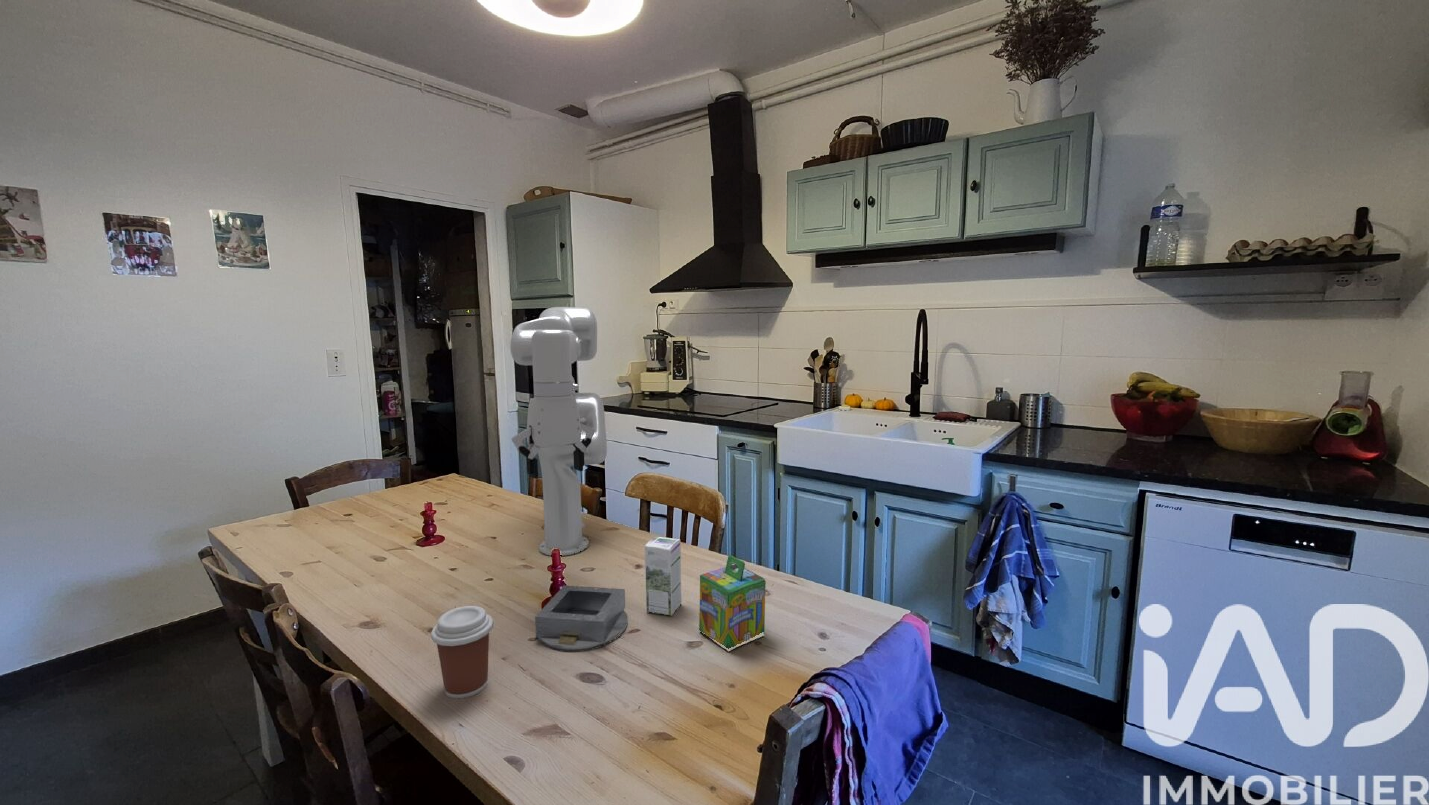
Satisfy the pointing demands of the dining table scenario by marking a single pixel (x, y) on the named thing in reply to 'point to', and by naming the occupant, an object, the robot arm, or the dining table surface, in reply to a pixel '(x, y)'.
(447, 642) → the coffee cup
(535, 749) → the dining table surface
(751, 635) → the chalk box
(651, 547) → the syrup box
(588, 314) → the robot arm
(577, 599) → the open box
